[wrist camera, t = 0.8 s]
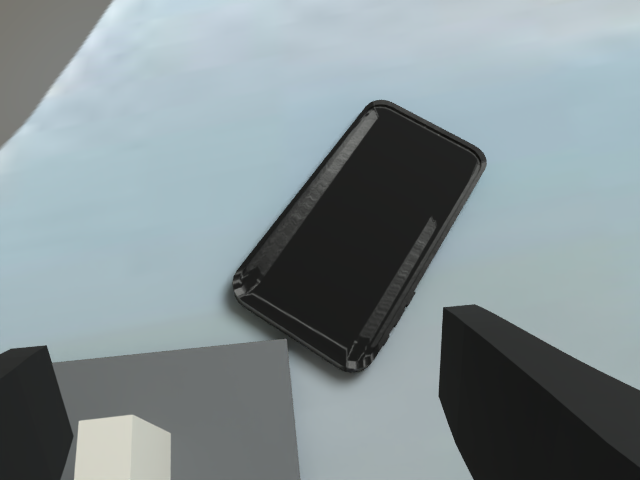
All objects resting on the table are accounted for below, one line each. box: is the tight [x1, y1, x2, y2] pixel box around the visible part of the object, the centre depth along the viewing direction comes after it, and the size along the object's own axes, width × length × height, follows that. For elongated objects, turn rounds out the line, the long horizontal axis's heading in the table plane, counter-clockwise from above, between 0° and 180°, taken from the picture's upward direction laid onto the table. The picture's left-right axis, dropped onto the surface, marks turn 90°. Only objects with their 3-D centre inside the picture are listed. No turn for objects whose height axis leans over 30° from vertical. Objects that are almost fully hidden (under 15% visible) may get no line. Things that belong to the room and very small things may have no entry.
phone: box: [233, 100, 487, 372], centre depth 27 cm, size 8×1×15 cm
